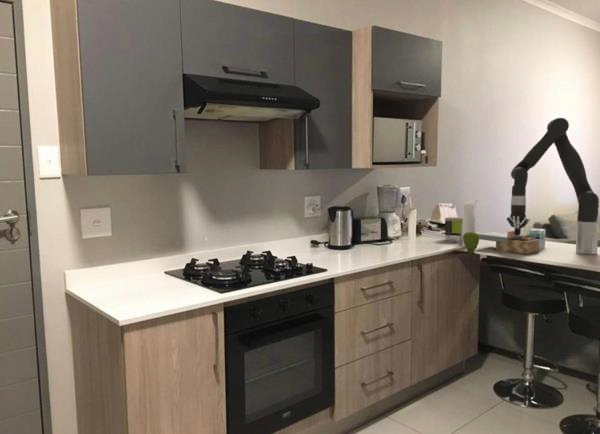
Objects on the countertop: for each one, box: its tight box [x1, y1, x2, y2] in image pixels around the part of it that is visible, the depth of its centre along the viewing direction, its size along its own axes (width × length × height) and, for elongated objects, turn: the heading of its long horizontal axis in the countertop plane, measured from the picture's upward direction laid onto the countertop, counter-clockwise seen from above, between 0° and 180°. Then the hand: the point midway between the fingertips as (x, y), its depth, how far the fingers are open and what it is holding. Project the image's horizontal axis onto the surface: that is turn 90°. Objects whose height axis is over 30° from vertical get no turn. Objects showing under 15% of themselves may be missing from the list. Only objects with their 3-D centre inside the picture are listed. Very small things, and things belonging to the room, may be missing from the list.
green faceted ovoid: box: [463, 232, 480, 253], centre depth 282 cm, size 9×8×12 cm
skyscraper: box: [459, 199, 478, 248], centre depth 299 cm, size 8×8×28 cm
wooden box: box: [495, 236, 540, 256], centre depth 281 cm, size 18×13×7 cm
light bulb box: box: [528, 228, 547, 251], centre depth 291 cm, size 11×7×11 cm, turn 143°
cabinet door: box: [477, 229, 523, 243], centre depth 289 cm, size 19×15×6 cm
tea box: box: [444, 216, 463, 242], centre depth 323 cm, size 15×10×15 cm
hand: (517, 235), depth 280 cm, fingers closed
